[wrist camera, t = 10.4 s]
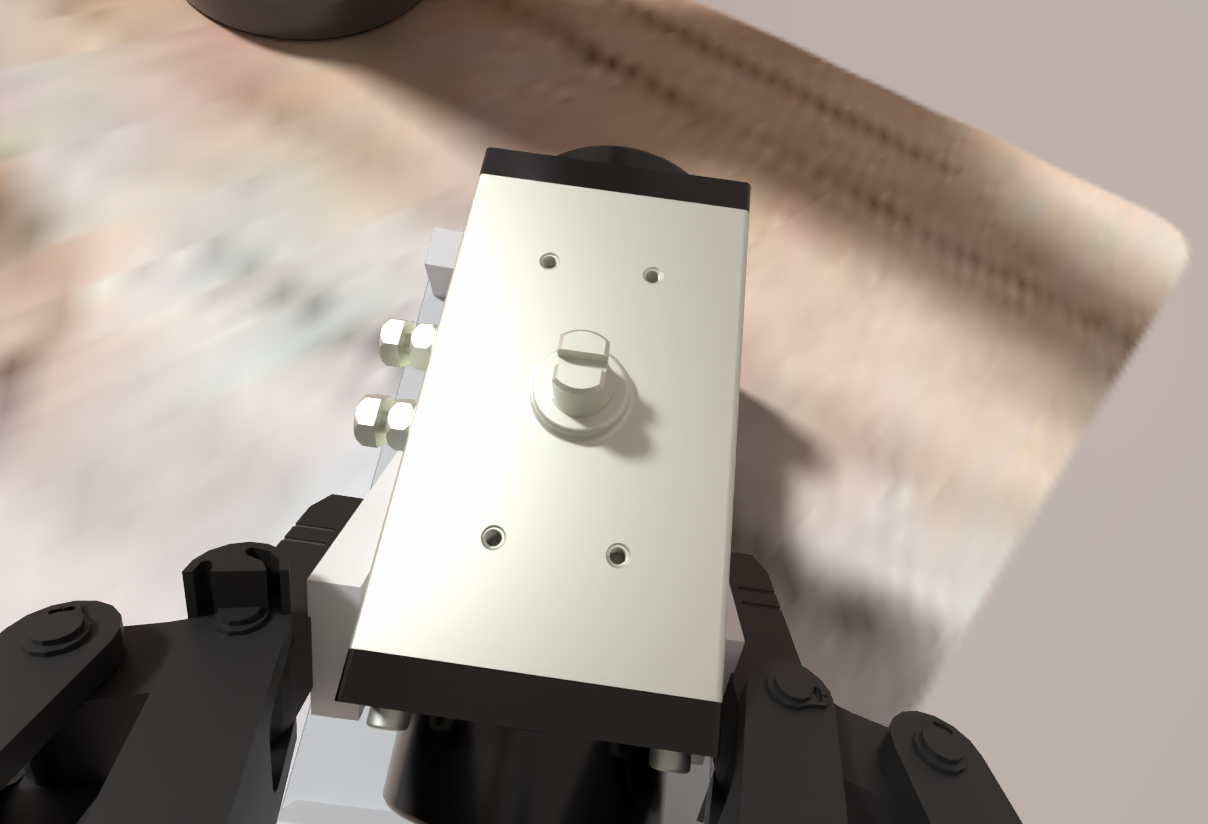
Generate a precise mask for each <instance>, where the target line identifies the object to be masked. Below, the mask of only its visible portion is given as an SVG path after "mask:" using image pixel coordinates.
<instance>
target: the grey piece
mask: <svg viewBox="0 0 1208 824" xmlns="http://www.w3.org/2000/svg"><path fill="white" fill-rule="evenodd" d="M462 236H463V232H457V231H452V230H446V229H440V228H435V229H434V232H433V236H432V239H431V243H430V246H429V250H428V253H427V257H426V260H425V267H426V271H427V274H428V278H429V280H428V284H427V287H426V291H425V295H424V298H423V302H422V305H421V309H420V313H419V316H418V320H417V323H416V325H417V324H418V323H428V324H435V325H438V323H439V320H440V316H441V312H442V309H443V305H444V301H445V298H446V294H447V291H448V287H449V283H450V280H451V276H452V273H453V269H454V265H455V262H456V258H457V254H458V251H459V247H460V244H461V240H462ZM424 374H425V371H422V370H416V369H415V368H413V367H412V365H411V363H410V366H406V367H404V370H403V374H402V377H401V381H400V384H399V388H398V391H397V395H396V399H395V401H396V400H398V399H413V400H417V399H418V396H419V392H420V388H421V385H422V381H423V377H424ZM397 452H398V451H397V450H393V449H392V448H391V447H390V446H389V445H388V443H386V444H383V445H382V449H381V452H380V456H379V460H378V463H377V467H376V470H375V474H374V478H373V481H372V485H371V488H372V487H373V485H374V484H375V483H376V481H377V480H378V478H379V477H380V476H381V474H382V473H383V471H384V470H385V468H386V467H387V466H388V464H389V463H390V461H391V460H392V459H393V457H394V456H395V454H396V453H397ZM371 488H370V490H371ZM369 709H370V706H365V708H364V710H363V712H362V715H361V717H360V719H359V721H355V720H348V719H340V718H332V717H324V716H317V715H311V704H310V707H309V711H308V714H307V718H306V722H305V725H304V729H303V732H302V736H301V739H300V743H299V747H298V750H297V754H296V757H295V761H294V765H293V768H292V772H291V775H290V779H289V783H288V786H287V790H286V793H285V797H284V800H283V804H282V808H281V810H280V811H279V815H278V819H277V823H276V824H413V823H411V822H409V821H407V820H405V819H403V818H402V817H400V816H399V815H397V814H396V813H394V812H393V811H392V810H391V809H390V808H389V807H388V806H387V804H386V802H385V800H384V798H383V789H384V785H385V781H386V777H387V772H388V768H389V764H390V760H391V755H392V751H393V747H394V742H395V738H396V734H397V731H386V730H379V729H374V728H371V727H369V726H367V724H366V721H367V717H368V713H369ZM710 774H711V757H708V756H705V759H704V762H703V765H695V764H691V768H690V772H689V773H687V774H676V773H669V772H668V774H667V786H666V798H665V810H664V822H663V824H704V822H703V823H701V822H698V821H696V820H697V817H698V815H699V812H700V809H701V806H702V803H703V801H704V798H705V795H706V792H707V789H708V787H709V784H710Z"/></svg>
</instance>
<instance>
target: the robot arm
mask: <svg viewBox="0 0 1208 824" xmlns="http://www.w3.org/2000/svg"><path fill="white" fill-rule="evenodd" d="M187 1H188V2H189V3H190V4H192V5H193V6H194V7H195V8H197V9H198V10H200V11H201V12H203V13H204V14H206V15H208V16H209V17H211V18H213V19H215V20H217V21H219V22H221V23H223V24H226V25H228V26H230V27H233V28H236V29H239V30H242V31H246V32H249V33H253V34H257V35H262V36H268V37H274V38H283V39H324V38H333V37H340V36H345V35H350V34H354V33H358V32H362V31H365V30H368V29H371V28H374V27H376V26H379V25H381V24H384V23H386V22H388V21H390V20H392V19H394V18H396V17H397V16H399V15H401V14H402V13H404V12H405V11H407V10H408V9H409V8H411V7H412V6H413V5H414V4H416V3H417V2H418V1H419V0H187ZM402 453H403V451H398V452H397V453H396V454H395V456H394V457H393V459H392V460H391V461H390V463H389V464H388V466H387V467H386V468H385V470H384V471H383V473H382V474H381V476H380V477H379V478H378V480H377V481H376V483H375V484H374V485H373V487H372V488H371V490H370V491H369V493H368V494H367V495H366V497H365V498H364V499H361V498H354V497H348V496H341V495H334V494H332V495H330V496H328V497H326V498H325V499H323V500H321V501H319V502H317V503H316V504H314V505H312V506H310V507H309V508H308V509H307V511H306V512H305V513H304V514H303V515H302V517H301V518H300V519H299V520H298V521H297V523H296V526H295V527H294V526H293V527H292V528H291V530H290V531H289V532H288V533H287V534H286V536H285V538H284V540H281V542H280V543H279V544H278V545H277V546H276V547H274V546H272V545H269V544H264V543H255V542H244V543H235V544H228V545H225V546H222V547H219V548H215V549H212V550H209V551H208V552H206V553H204V554H202V555H201V556H199V557H197V558H195V559H194V560H192V562H191V563H190V564H189V565H188V566H187V567H186V568H185V569H184V570H183V571H182V575H183V583H184V590H185V598H186V605H187V613H188V619H185V620H179V621H173V622H165V623H155V624H144V625H134V626H123V623H122V617H121V614H120V613H119V612H118V611H117V610H116V609H115V608H114V606H112V605H109V604H106V603H103V602H99V601H72V602H67V603H62V604H57V605H53V606H49V607H47V608H44V609H42V610H39V611H37V612H34V613H31V614H29V615H27V616H25V617H23V618H22V619H20V620H19V621H17V622H15V623H14V624H12V625H11V626H9V627H7V628H6V629H5V630H3V631H2V632H1V633H0V824H276V823H277V819H278V815H279V811H280V807H281V802H282V798H283V794H284V790H285V785H286V781H287V777H288V773H289V768H290V764H291V760H292V756H293V752H294V747H295V743H296V739H297V724H296V716H297V714H298V713H299V711H300V709H301V707H302V705H303V704H304V702H305V700H306V698H307V696H308V695H309V693H310V694H311V715H317V716H324V717H332V718H340V719H348V720H355V721H359V719H360V717H361V715H362V712H363V710H364V708H365V706H364V705H357V704H350V703H343V702H337V701H334V700H335V696H336V692H337V689H338V685H339V681H340V678H341V674H342V671H343V667H344V663H345V660H346V656H347V653H348V649H354V648H349V645H350V642H351V638H352V634H353V631H354V627H355V624H356V620H357V616H358V613H359V609H360V605H361V602H362V598H363V595H364V591H365V587H366V584H367V580H368V577H369V573H370V569H371V566H372V562H373V558H374V555H375V551H376V548H377V544H378V540H379V537H380V533H381V529H382V526H383V522H384V519H385V515H386V511H387V508H388V504H389V501H390V497H391V493H392V490H393V486H394V482H395V479H396V475H397V472H398V468H399V464H400V461H401V457H402ZM719 703H722V719H721V737H720V755H719V758H715V757H713V762H714V768H715V770H714V773H713V775H712V778H711V781H710V784H709V787H708V789H707V792H706V795H705V798H704V801H703V803H702V806H701V809H700V812H699V815H698V817H697V820H696V821H698V822H701V823H703V822H704V824H1022V822H1021V820H1020V819H1019V817H1018V815H1017V814H1016V812H1015V810H1014V809H1013V807H1012V805H1011V804H1010V802H1009V800H1008V799H1007V797H1006V795H1005V794H1004V792H1003V790H1002V789H1001V787H1000V785H999V784H998V782H997V780H996V779H995V777H994V775H993V774H992V772H991V770H990V769H989V767H988V765H987V764H986V762H985V760H984V759H983V757H982V756H981V754H980V753H979V752H978V751H977V749H976V748H975V747H974V745H973V744H972V743H971V741H970V740H969V739H967V738H966V737H965V736H964V735H963V734H961V733H960V732H959V731H958V730H957V729H956V728H954V727H953V726H951V725H950V724H948V723H946V722H944V721H942V720H941V719H939V718H937V717H935V716H932V715H929V714H925V713H922V712H919V711H907V712H902V713H900V714H898V715H897V716H895V717H894V718H893V719H892V721H891V723H890V725H889V727H885V726H883V725H880V724H878V723H875V722H873V721H870V720H868V719H865V718H863V717H861V716H858V715H856V714H853V713H851V712H849V711H847V710H845V709H843V708H841V707H839V706H837V705H836V704H834V702H833V699H832V696H831V694H830V691H829V690H828V689H827V688H826V686H825V685H824V684H823V682H822V681H821V680H820V679H819V678H818V677H817V676H815V675H814V674H813V673H812V672H810V671H809V670H808V669H806V668H805V667H803V666H801V663H800V660H799V657H798V655H797V652H796V649H795V646H794V644H793V641H792V638H791V635H790V633H789V630H788V627H787V625H786V622H785V619H784V616H783V614H782V611H780V605H779V603H778V600H777V597H776V595H774V589H773V586H772V584H771V581H770V578H769V575H768V573H767V572H766V571H765V569H764V568H763V567H762V566H761V565H760V564H759V563H758V562H757V560H756V559H755V558H754V557H753V556H752V555H746V554H739V553H733V552H731V555H730V573H729V591H728V609H727V628H726V646H725V664H724V682H723V700H722V702H719ZM704 759H705V756H701V755H694V754H691V764H695V765H703V762H704Z"/></svg>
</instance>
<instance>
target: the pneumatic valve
mask: <svg viewBox="0 0 1208 824" xmlns="http://www.w3.org/2000/svg"><path fill="white" fill-rule="evenodd" d="M750 191H751V186H750V184H749V183H746V182H739V181H731V180H724V179H717V178H710V177H702V176H695V175H689V174H687V173H686V172H685V171H684V170H682V169H681V168H680V167H678V166H676V165H675V164H673V163H671V162H669V161H668V160H666V159H664V158H662V157H659V156H657V155H654V154H651V153H649V152H646V151H642V150H639V149H635V148H629V147H623V146H606V145H601V146H589V147H584V148H578V149H575V150H571V151H568V152H565V153H563V154H560V155H558V156H550V155H542V154H535V153H528V152H521V151H513V150H506V149H499V148H491V147H490V148H487V150H486V153H485V157H484V160H483V164H482V168H481V171H480V175H479V178H478V182H477V186H476V189H475V193H474V197H473V200H472V204H471V207H470V211H469V215H468V218H467V222H466V226H465V229H464V233H463V236H462V240H461V244H460V247H459V251H458V254H457V258H456V262H455V265H454V269H453V273H452V276H451V280H450V283H449V287H448V291H447V294H446V298H445V301H444V305H443V309H442V312H441V316H440V320H439V323H438V325H435V324H428V323H418V324H417V325H416V326H415V327H414V321H407V320H399V319H388V320H387V321H386V322H385V323H384V325H383V327H382V330H381V334H380V340H379V354H380V358H381V360H382V362H383V363H384V364H385V365H387V366H394V367H406V366H410V363H411V365H412V367H413V368H415V369H416V370H422V371H425V374H424V377H423V381H422V385H421V388H420V392H419V396H418V399H417V400H413V399H398V400H396V401H395V402H394V403H393V401H392V396H385V395H365V396H364V397H363V398H362V399H361V400H360V402H359V404H358V406H357V409H356V413H355V418H354V435H355V438H356V440H357V441H358V442H359V443H360V444H361V445H363V446H369V447H376V448H377V447H379V446H381V445H383V444H386V443H388V445H389V446H390V447H391V448H392V449H393V450H397V451H403V453H402V457H401V461H400V464H399V468H398V472H397V475H396V479H395V482H394V486H393V490H392V493H391V497H390V501H389V504H388V508H387V511H386V515H385V519H384V522H383V526H382V529H381V533H380V537H379V540H378V544H377V548H376V551H375V555H374V558H373V562H372V566H371V569H370V573H369V577H368V580H367V584H366V587H365V591H364V595H363V598H362V602H361V605H360V609H359V613H358V616H357V620H356V624H355V627H354V631H353V634H352V638H351V642H350V645H349V648H354V649H348V653H347V656H346V660H345V663H344V667H343V671H342V674H341V678H340V681H339V685H338V689H337V692H336V696H335V700H334V701H337V702H343V703H350V704H357V705H364V706H370V709H369V713H368V717H367V721H366V724H367V726H369V727H371V728H374V729H379V730H386V731H397V734H396V738H395V742H394V747H393V751H392V755H391V760H390V764H389V768H388V772H387V777H386V781H385V785H384V789H383V798H384V800H385V802H386V804H387V806H388V807H389V808H390V809H391V810H392V811H393V812H394V813H396V814H397V815H399V816H400V817H402V818H403V819H405V820H407V821H409V822H411V823H413V824H663V822H664V810H665V798H666V786H667V774H668V772H669V773H676V774H687V773H689V772H690V768H691V754H694V755H701V756H708V757H715V758H719V755H720V737H721V719H722V703H719V702H722V700H723V682H724V664H725V646H726V628H727V609H728V591H729V573H730V555H731V537H732V518H733V500H734V482H735V464H736V446H737V428H738V409H739V391H740V373H741V355H742V337H743V318H744V300H745V282H746V264H747V246H748V227H749V209H750Z"/></svg>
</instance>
